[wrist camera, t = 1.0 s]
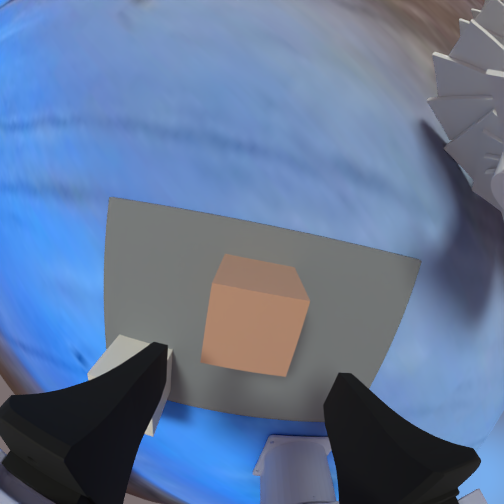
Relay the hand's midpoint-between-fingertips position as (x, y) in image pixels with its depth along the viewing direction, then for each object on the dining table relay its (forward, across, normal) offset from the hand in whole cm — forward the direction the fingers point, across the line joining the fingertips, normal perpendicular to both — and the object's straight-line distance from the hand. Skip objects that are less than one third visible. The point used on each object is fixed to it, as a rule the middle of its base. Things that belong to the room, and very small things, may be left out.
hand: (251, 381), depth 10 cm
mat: (+10, 0, +4) cm, 11 cm away
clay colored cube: (+10, 0, 0) cm, 10 cm away
